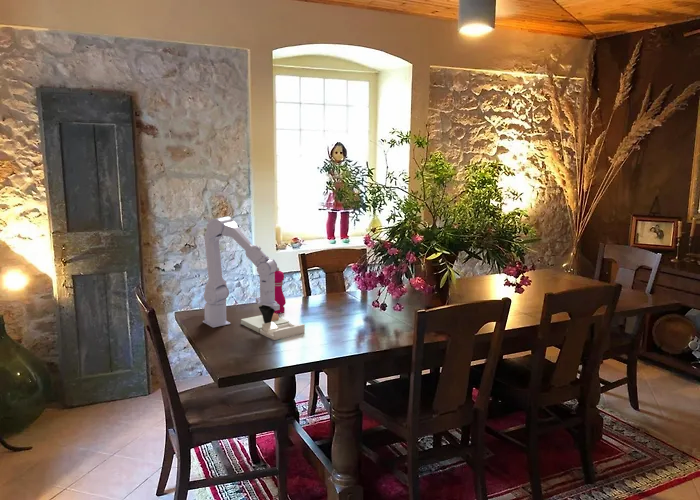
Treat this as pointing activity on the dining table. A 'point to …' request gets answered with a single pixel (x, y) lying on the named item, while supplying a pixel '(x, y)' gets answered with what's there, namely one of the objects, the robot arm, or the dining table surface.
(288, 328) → the tray
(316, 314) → the dining table surface
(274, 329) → the tile cream
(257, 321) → the board
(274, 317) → the tile terracotta
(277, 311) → the pepper mill
